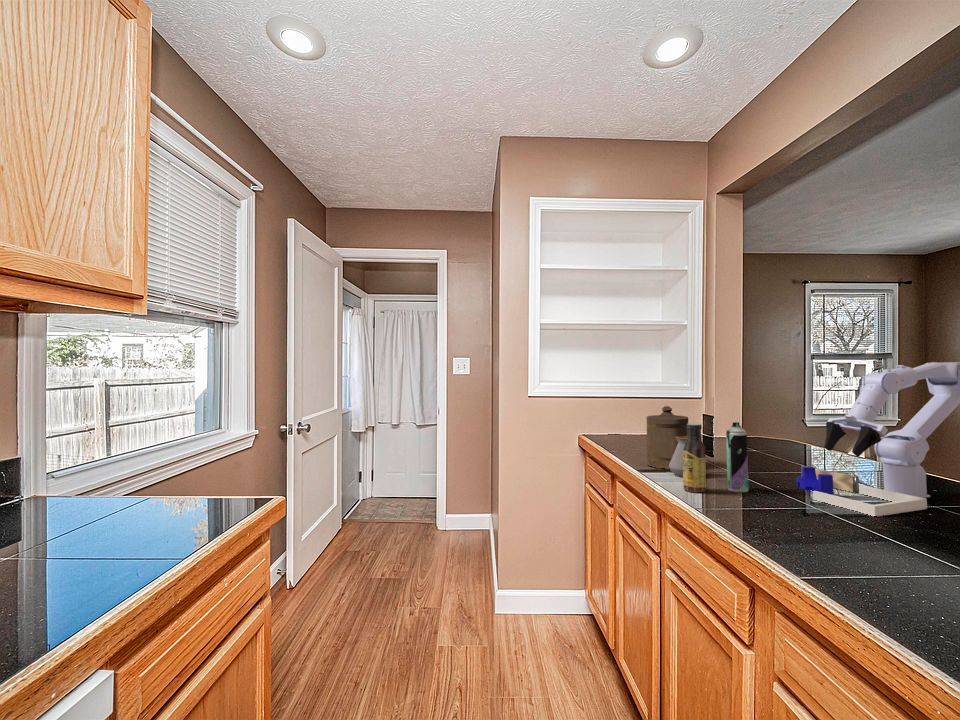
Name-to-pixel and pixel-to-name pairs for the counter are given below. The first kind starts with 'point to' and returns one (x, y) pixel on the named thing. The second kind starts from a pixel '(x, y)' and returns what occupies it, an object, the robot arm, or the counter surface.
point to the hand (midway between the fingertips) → (840, 451)
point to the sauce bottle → (694, 460)
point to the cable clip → (815, 481)
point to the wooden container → (664, 437)
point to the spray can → (737, 458)
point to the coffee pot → (678, 457)
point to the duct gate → (839, 480)
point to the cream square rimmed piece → (896, 506)
